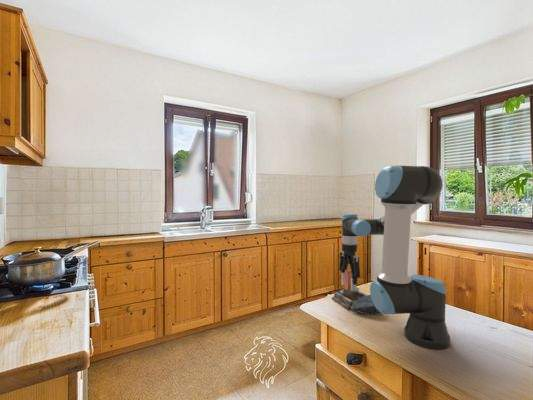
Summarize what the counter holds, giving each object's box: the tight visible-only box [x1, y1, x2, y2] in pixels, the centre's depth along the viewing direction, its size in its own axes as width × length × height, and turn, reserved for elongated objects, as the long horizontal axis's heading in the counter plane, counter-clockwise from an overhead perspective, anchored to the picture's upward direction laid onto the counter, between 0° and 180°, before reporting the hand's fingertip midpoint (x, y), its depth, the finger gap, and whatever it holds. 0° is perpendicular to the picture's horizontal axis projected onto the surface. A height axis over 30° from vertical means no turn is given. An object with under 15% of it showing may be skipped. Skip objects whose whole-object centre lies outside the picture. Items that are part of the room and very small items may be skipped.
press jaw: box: [339, 268, 360, 299], centre depth 146 cm, size 4×9×14 cm, turn 107°
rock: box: [351, 294, 379, 315], centre depth 131 cm, size 16×8×10 cm
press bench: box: [331, 289, 367, 311], centre depth 142 cm, size 14×16×4 cm
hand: (348, 287), depth 146 cm, fingers open, 8 cm apart
